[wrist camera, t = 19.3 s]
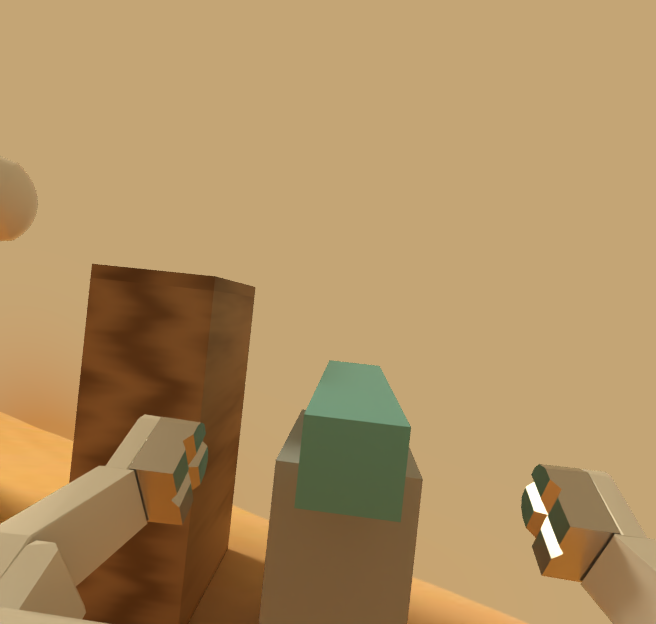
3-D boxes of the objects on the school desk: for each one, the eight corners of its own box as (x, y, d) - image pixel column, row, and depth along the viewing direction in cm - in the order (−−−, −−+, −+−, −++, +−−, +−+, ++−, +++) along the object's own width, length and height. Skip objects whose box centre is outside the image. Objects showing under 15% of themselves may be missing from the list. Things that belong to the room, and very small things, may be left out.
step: (245, 749, 23) (275, 460, 23) (282, 599, 35) (302, 409, 35) (391, 774, 22) (422, 479, 22) (377, 613, 34) (398, 421, 34)
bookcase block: (54, 625, 30) (92, 263, 30) (140, 535, 42) (167, 278, 42) (176, 644, 29) (215, 276, 29) (227, 548, 41) (255, 287, 41)
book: (294, 508, 18) (304, 414, 18) (324, 404, 38) (329, 360, 38) (402, 522, 17) (411, 427, 17) (375, 410, 37) (380, 366, 37)
